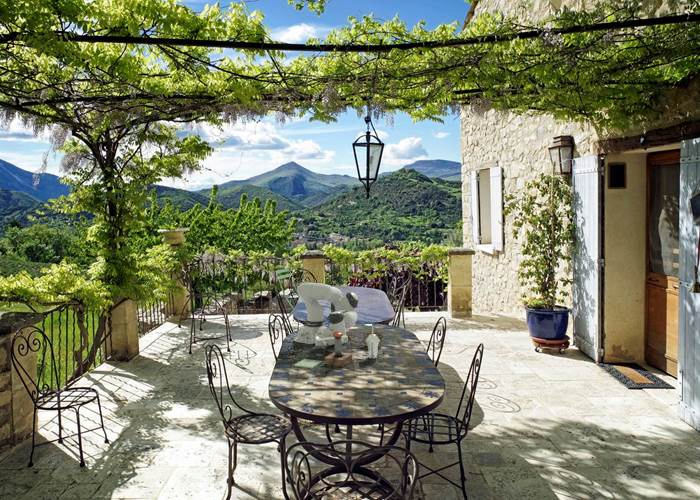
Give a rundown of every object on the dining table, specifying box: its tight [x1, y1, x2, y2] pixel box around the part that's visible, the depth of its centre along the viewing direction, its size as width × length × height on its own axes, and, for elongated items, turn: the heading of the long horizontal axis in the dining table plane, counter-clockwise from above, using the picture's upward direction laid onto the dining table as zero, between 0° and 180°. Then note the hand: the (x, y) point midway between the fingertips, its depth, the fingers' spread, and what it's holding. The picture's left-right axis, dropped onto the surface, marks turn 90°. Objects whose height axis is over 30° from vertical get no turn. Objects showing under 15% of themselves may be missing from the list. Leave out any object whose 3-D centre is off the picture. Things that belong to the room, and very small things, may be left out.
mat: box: [293, 358, 323, 370], centre depth 302 cm, size 12×12×1 cm
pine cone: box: [349, 330, 385, 347], centre depth 336 cm, size 22×10×10 cm, turn 89°
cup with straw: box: [363, 323, 380, 359], centre depth 312 cm, size 8×9×20 cm
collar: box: [323, 351, 353, 367], centre depth 304 cm, size 12×12×4 cm
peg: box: [332, 332, 343, 358], centre depth 303 cm, size 6×6×17 cm
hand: (334, 343), depth 313 cm, fingers open, 8 cm apart
